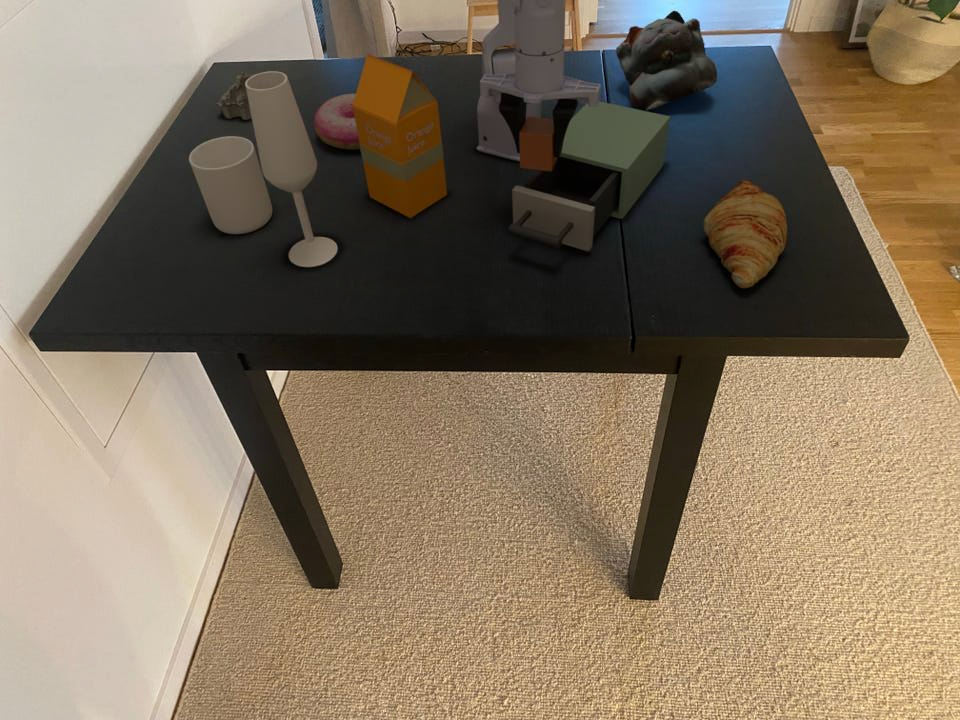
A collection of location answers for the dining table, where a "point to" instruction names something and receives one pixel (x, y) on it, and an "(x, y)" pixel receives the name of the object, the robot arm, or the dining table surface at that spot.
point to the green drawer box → (619, 146)
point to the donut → (338, 123)
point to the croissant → (747, 232)
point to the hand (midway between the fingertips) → (539, 151)
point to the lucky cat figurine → (665, 61)
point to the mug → (232, 184)
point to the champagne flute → (286, 156)
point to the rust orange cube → (537, 144)
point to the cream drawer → (565, 204)
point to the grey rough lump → (236, 99)
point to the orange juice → (399, 137)
